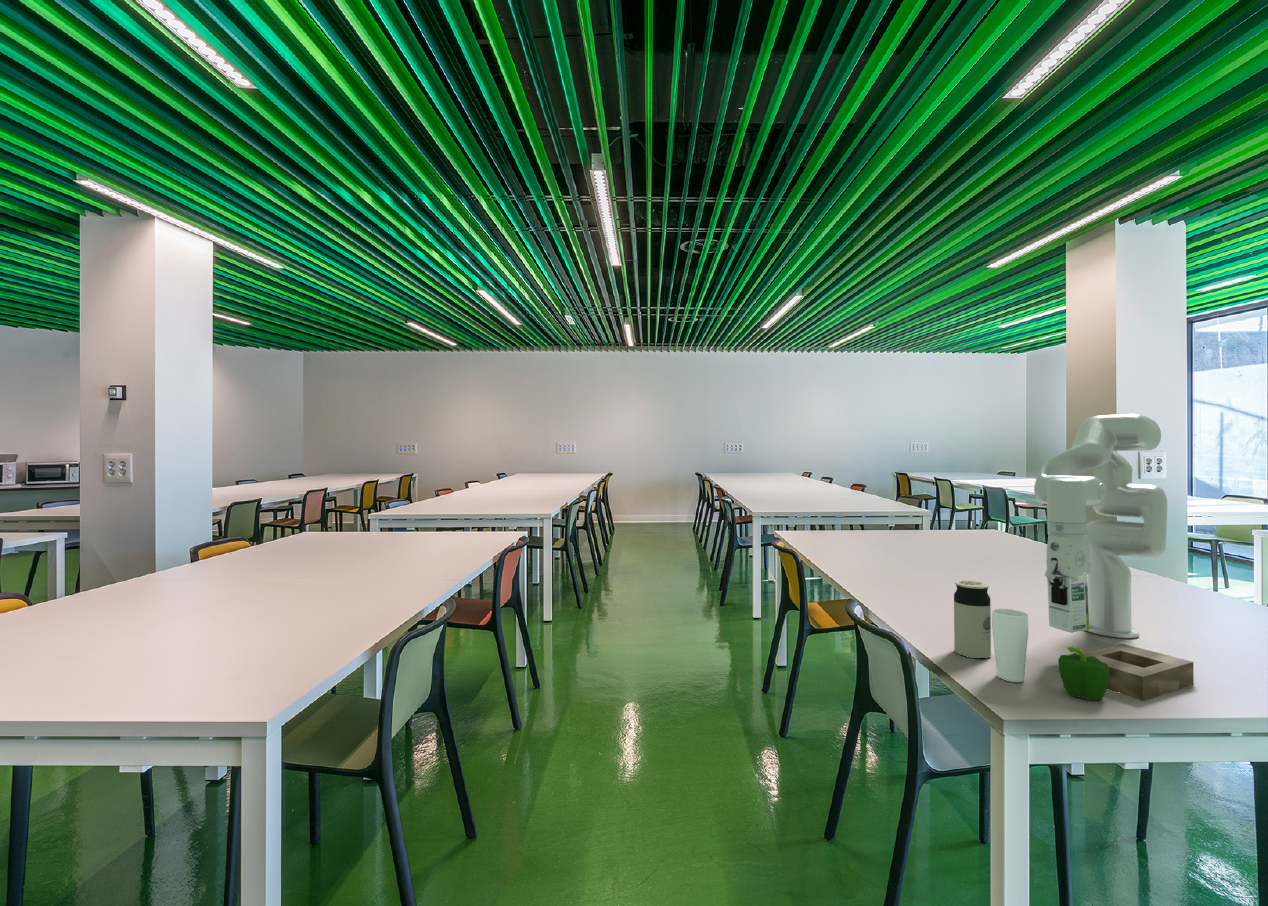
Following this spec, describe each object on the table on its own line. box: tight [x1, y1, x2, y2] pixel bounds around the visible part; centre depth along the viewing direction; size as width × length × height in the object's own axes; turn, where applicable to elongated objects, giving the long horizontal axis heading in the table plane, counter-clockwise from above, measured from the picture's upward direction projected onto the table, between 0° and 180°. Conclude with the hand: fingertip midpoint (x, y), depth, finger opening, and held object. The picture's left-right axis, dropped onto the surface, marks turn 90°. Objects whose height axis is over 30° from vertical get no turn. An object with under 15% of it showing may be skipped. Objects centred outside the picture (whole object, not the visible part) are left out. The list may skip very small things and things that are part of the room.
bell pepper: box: [1057, 646, 1110, 701], centre depth 118 cm, size 8×8×10 cm
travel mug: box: [953, 579, 992, 659], centre depth 142 cm, size 8×8×18 cm
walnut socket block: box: [1084, 643, 1195, 702], centre depth 125 cm, size 13×20×5 cm, turn 113°
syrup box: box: [1046, 571, 1089, 634], centre depth 137 cm, size 6×6×14 cm
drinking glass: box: [991, 608, 1029, 683], centre depth 127 cm, size 7×7×15 cm
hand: (1067, 601), depth 137 cm, fingers closed on syrup box, 6 cm apart
